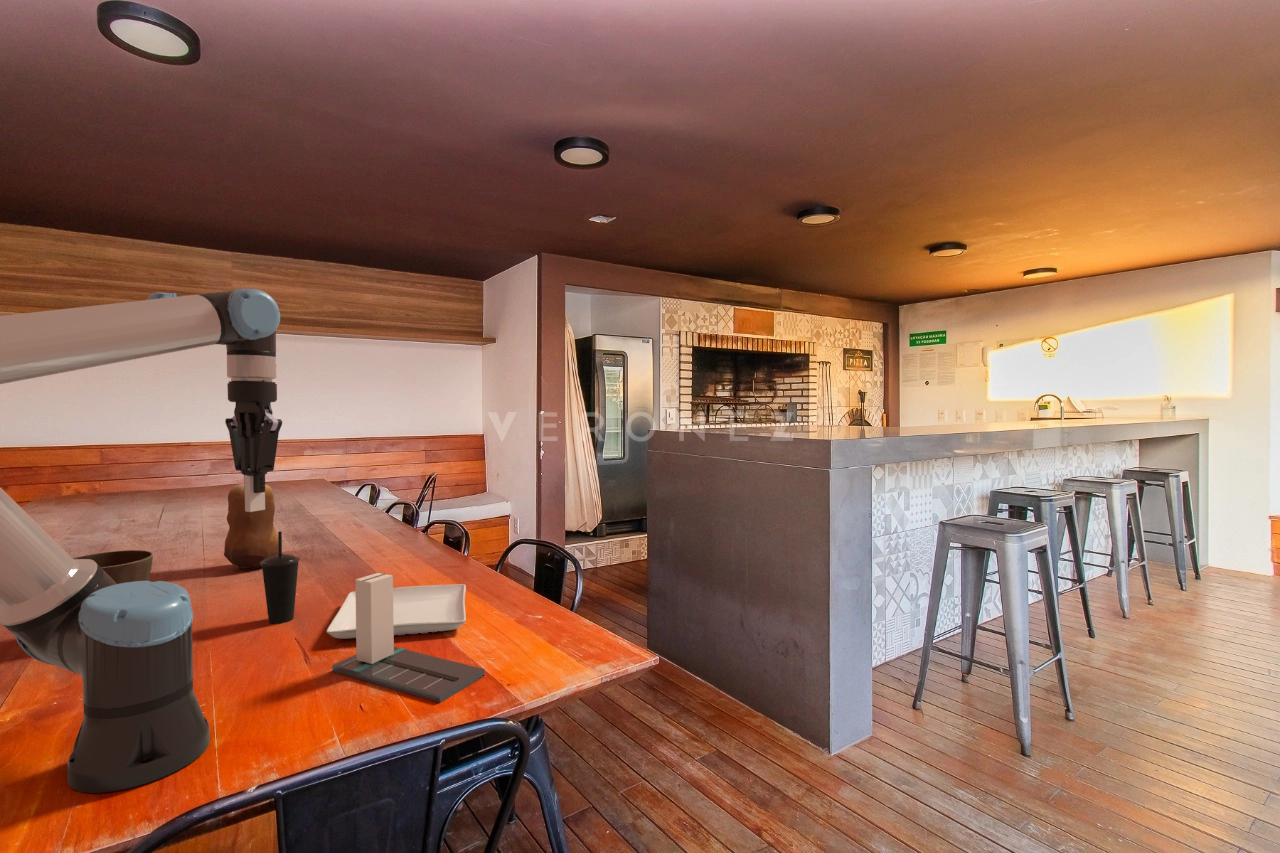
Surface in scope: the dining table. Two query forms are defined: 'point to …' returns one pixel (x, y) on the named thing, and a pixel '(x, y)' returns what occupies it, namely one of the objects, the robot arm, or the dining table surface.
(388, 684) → the dark grey marked board
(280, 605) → the drinking cup
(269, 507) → the butternut squash
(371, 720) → the dining table surface
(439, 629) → the square plate
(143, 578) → the plant pot
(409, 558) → the dining table surface
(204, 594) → the dining table surface
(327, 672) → the dining table surface
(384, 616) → the fader tab
